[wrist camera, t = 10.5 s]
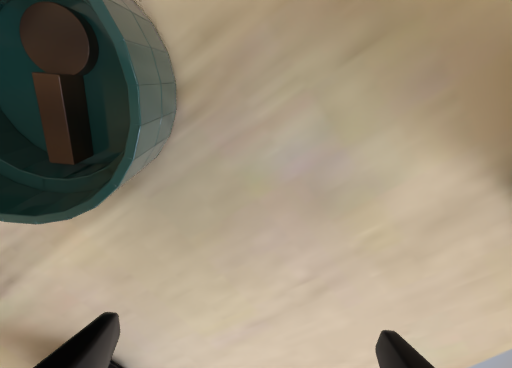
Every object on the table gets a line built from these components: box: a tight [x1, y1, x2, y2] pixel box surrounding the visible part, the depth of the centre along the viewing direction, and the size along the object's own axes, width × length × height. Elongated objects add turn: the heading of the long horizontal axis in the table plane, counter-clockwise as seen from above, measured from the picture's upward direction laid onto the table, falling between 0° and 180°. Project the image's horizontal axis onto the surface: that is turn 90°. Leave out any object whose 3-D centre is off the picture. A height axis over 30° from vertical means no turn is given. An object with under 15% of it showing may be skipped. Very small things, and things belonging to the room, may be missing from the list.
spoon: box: [19, 1, 99, 165], centre depth 16 cm, size 9×4×2 cm, turn 175°
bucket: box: [0, 0, 176, 224], centre depth 14 cm, size 13×13×6 cm
